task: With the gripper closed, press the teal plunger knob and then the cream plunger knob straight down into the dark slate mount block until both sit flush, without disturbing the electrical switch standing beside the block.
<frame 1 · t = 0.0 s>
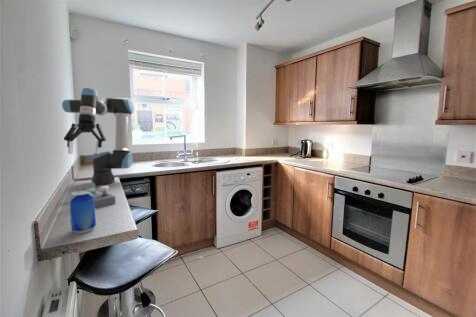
hand: (83, 153, 123), 28 cm above the worktop, tool tilted 20°, fingers open, 13 cm apart
knob teal: (90, 194, 123), point 6 cm above the worktop, slide at 0.0 cm
knob cream: (104, 191, 128), point 6 cm above the worktop, slide at 0.0 cm
mount block: (98, 203, 126), on the worktop
electrical switch: (86, 199, 135), on the worktop
beer can: (84, 230, 95), on the worktop
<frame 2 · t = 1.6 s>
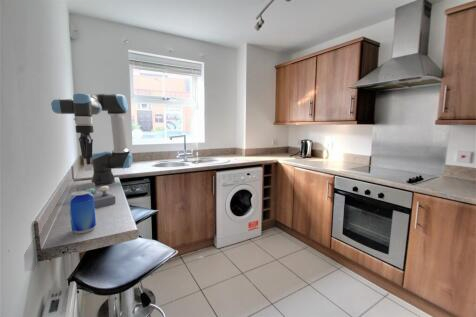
hand: (88, 170, 121), 19 cm above the worktop, tool pointing down, fingers closed
nothing on the worktop moved.
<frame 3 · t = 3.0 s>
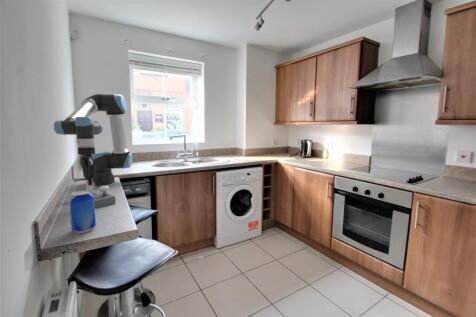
hand: (89, 190, 122), 8 cm above the worktop, tool pointing down, fingers closed
knob teal: (90, 196, 123), point 5 cm above the worktop, slide at 1.0 cm, touching gripper
everything else where it was.
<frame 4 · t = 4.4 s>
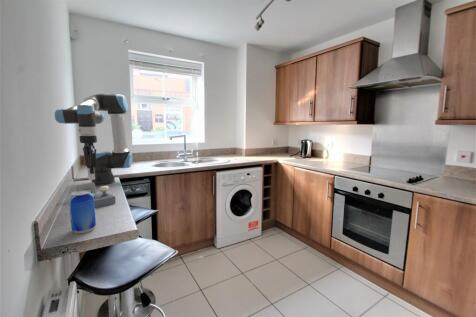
hand: (91, 179, 123), 14 cm above the worktop, tool pointing down, fingers closed
knob teal: (90, 199, 123), point 3 cm above the worktop, slide at 2.8 cm
everything else where it was.
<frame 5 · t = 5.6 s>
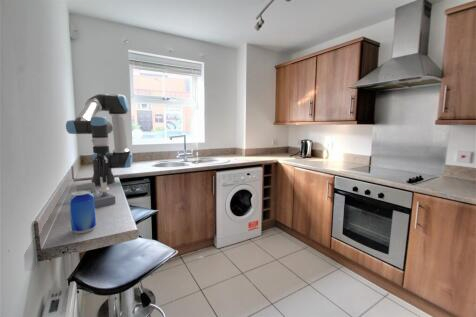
hand: (104, 187, 128), 8 cm above the worktop, tool pointing down, fingers closed
knob cream: (104, 192, 128), point 5 cm above the worktop, slide at 0.8 cm, touching gripper
everything else where it was.
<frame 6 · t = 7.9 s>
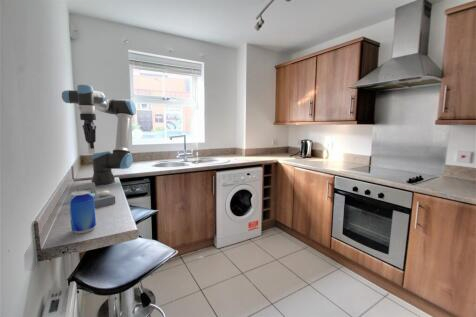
hand: (91, 153, 136), 26 cm above the worktop, tool pointing down, fingers closed
knob cream: (104, 196, 129), point 3 cm above the worktop, slide at 2.8 cm
everything else where it was.
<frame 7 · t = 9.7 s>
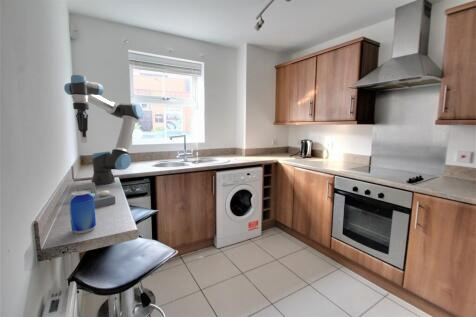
hand: (84, 142, 139), 32 cm above the worktop, tool pointing down, fingers closed
nothing on the worktop moved.
at the end: knob teal slide at 2.8 cm; knob cream slide at 2.8 cm; electrical switch moved 0.3 cm from its start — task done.
